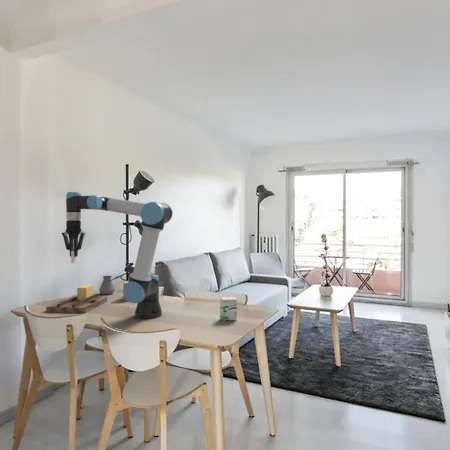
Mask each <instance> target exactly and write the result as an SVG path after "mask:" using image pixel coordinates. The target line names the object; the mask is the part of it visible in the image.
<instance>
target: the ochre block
mask: <svg viewBox="0 0 450 450" xmlns="http://www.w3.org/2000/svg"><path fill="white" fill-rule="evenodd" d="M76 289H77V290H76V296H77V300H80V301H81V300H83V299H85V298H87V297H90V296H92V295H93V294H94V284H93V285H91V284H84V285H81V286H78V287H77V288H76Z"/></svg>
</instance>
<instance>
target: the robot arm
mask: <svg viewBox="0 0 450 450" xmlns="http://www.w3.org/2000/svg"><path fill="white" fill-rule="evenodd" d="M65 195H66V196H65V203H66V204H65V205H66V211H65V213H66V215H65V216H66V217H65V219H66V221H65V222H66V223H65V226H66V227H65V228H66V229H65V231H63V232H61V235H62V237H63V241H64V246H65V249H66V251H67V250H68V251H69V257H70V259H71V260H70V263H71V264H76V263H77V257H78V252H79V250H81V249H82V246H83V243H84V237H85V236H86V232H84V231H83V230H82V228H81V226H82V222H81V219H82V218H81V216H82V213H81V210H95V211H96V210H97V211H98V210H100V211H105V212H113V213H118V214H124V215H125V214H126V215H129V216H131V215H132V216H137V217H140V219H141V220H142V221H141V224H140V225H141V227H142V229H143V230H142V233H141V238H140V242H139V246H138V251H137V256H136V259H135V264H134V269H133V272H131V273H130V274H129V276H128V280H127V281H128V283H126V284H125V286H124V288H123V287H122V295H124V297H125V298H126V300H127V301H126V302H128V303H130V304H136V307H135V310H134V317H135V318H137V319H155V318H159V317H161V316H162V315H163V310H162V307H161V305H160V300H159V299H160V277H159V276H158V275H156V274H151V271H152V266H153V262H154V257H155V253H156V250H157V245H158V239H159V236H160V232H162V231H163V230H164V228H165V224H167V223H169V222H170V221H171V219H172V218H173V209H172V207H171V206H170V205H169V204H168V203H165V202H159V201H148V202H147V203H144V202H143V203H142V202H137V201H131V200H125V199H119V198H118V199H117V198H111V197H106V196H99V195H94V194H93V195H92V194H91V195H82V194H81V192H79V191H78V192H77V191H68V192H66V194H65Z"/></svg>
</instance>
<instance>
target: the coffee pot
mask: <svg viewBox="0 0 450 450" xmlns="http://www.w3.org/2000/svg"><path fill="white" fill-rule="evenodd" d="M112 277H113V276H112V275H103V276H102V278H103V279H102V282H101V285H100V287H99V288H98V289H99V290H98V292H99V293H100V294H101V295H105V296H106V295H113V294H114V293H115V292H116V287H115V285H114V284H113V281H114V280H117V279H119V278H123V277H124V276H123V274H121V275H118V276H115V277H113V278H112Z"/></svg>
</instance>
